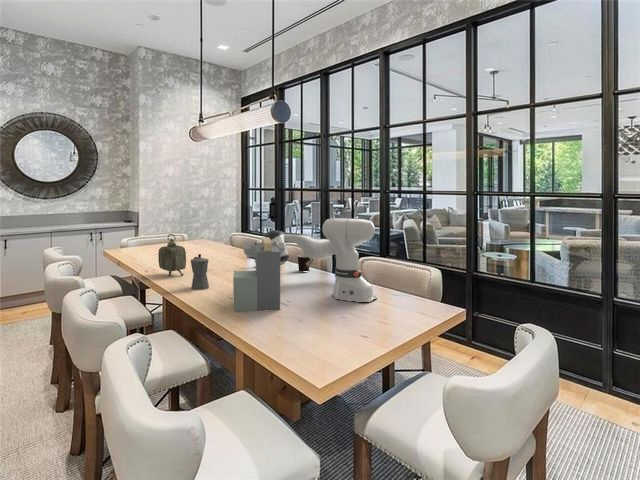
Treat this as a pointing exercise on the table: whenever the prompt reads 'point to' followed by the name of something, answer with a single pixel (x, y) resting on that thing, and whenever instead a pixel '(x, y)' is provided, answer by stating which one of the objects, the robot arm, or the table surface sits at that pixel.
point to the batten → (267, 244)
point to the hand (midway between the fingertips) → (265, 241)
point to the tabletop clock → (172, 257)
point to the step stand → (259, 283)
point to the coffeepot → (199, 273)
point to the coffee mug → (304, 262)
